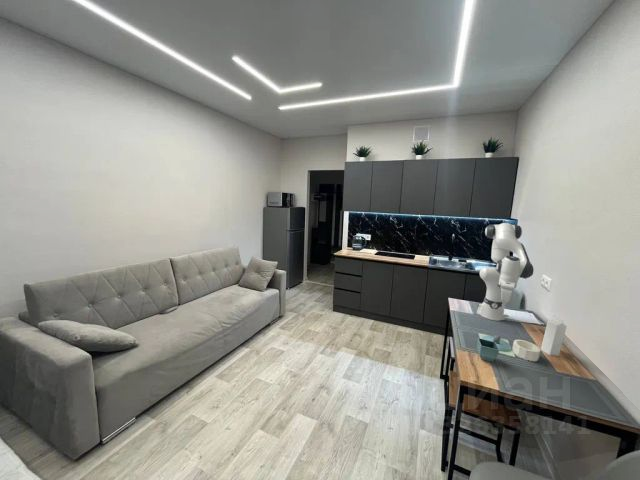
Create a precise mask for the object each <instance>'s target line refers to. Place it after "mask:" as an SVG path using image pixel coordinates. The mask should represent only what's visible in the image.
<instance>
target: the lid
mask: <svg viewBox="0 0 640 480" xmlns="http://www.w3.org/2000/svg"><path fill="white" fill-rule="evenodd" d="M500 338H501V336H499V335H497V334H494V335H489V336H483V337H482V339H484V340H489V341H493V342H495V343H496V344H497V346H498V348H499V351H510V350H511V348H512V346H511V345H510V342H509V343H507V342H506V341H504V340H502V339H503V338H501V339H500Z"/></svg>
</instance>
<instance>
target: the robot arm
mask: <svg viewBox="0 0 640 480" xmlns="http://www.w3.org/2000/svg"><path fill="white" fill-rule="evenodd" d="M484 234H485V236H486V237H487V238H488V239H493V240H492V244H491V254H490V255H491V256H490V258H491V261H493V262H494V263H496V266H495V267H494V266H484V267H483V266H482V268H481V269H479V277H480V279H482V280H483V282H484V283H485V286H486V292H485V296H484V299H483V302H482V303H479V304H478V305H479V306H478V307H477V311H476V314H477V315H479V316H481V317H483V318H484V319H488V320H491V321H497V322H499V321H505V320H506V317H505V316H504V313H505V308H506V307H507V303H510V301H511V298H512V294H513V291H514V290H515V289H517V286H518V282H519V280H520V278H522V279H526V280H527V279H529V278H530V277H532V276H533V275H534V271H535V270H534V266H533V264H532V263H531V261H530V259H529V256H528V253H527V250H526V248H525V246H524V244H523V243H522V242H520V241H519V239H520V238H521V236H522V235H523V229H522V227H521V226H520V225H519V224H511V223H509V222H502V223H500V224H489V225H487V226H486V227H485V231H484ZM511 252H512V253H514V254H515V255H516V256H515V255H510V253H511Z"/></svg>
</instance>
